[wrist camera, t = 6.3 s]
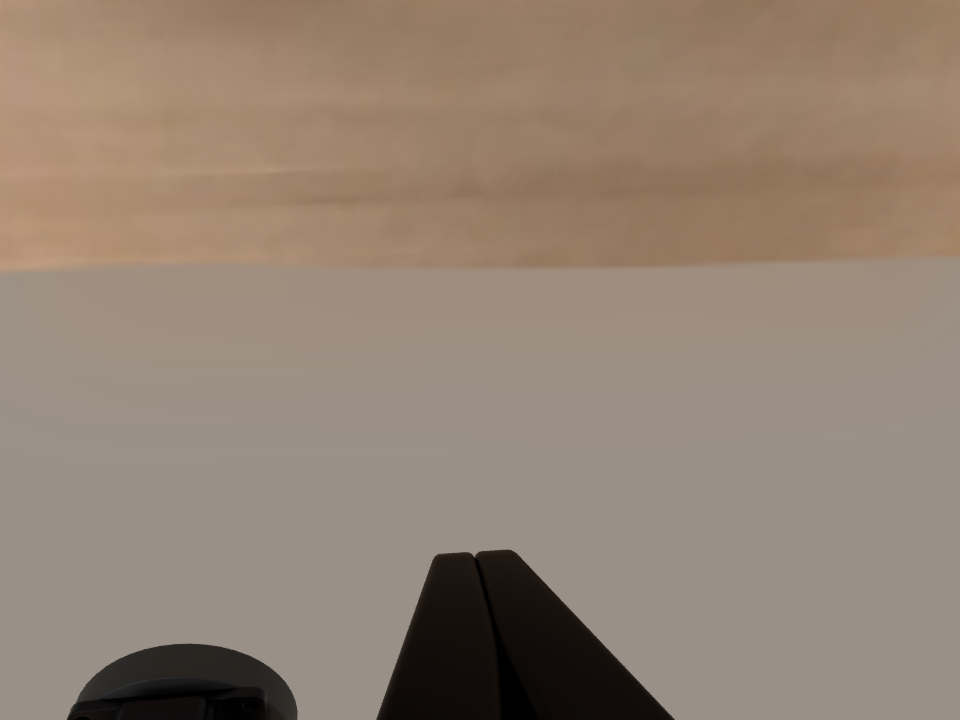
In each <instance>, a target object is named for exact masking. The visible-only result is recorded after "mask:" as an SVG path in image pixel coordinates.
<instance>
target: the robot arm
mask: <svg viewBox="0 0 960 720" xmlns="http://www.w3.org/2000/svg"><path fill="white" fill-rule="evenodd" d="M67 720H270V717H269V708H268V699H267V694H266V691H264V690H263V689H262V688H259V687H252V686H251V687H240V688H228V689H217V690H205V691H194V692H182V693H171V694H159V695H148V696H136V697H125V698H113V699H102V700H90V701H82V702H78V703H76V704H74V705H73V707H72V708H71V710H70V713H69V715H68V718H67ZM376 720H675V719H674V718H673V717H672V716H671V715H670V714H669V713H668V712H667V711H666V710H665V709H664V708H663V707H662V706H661V705H660V704H659V703H658V701H657V700H656V699H655V698H654V697H653V696H652V695H651V694H650V693H649V692H648V691H647V690H646V689H645V688H644V687H643V686H642V685H641V684H640V683H639V681H637V679H636V678H635V677H634V676H633V675H632V674H631V673H630V672H629V671H628V670H627V669H626V668H625V667H624V666H623V665H622V664H621V663H620V662H619V661H618V659H617V658H616V657H615V656H614V655H613V654H612V653H611V652H610V651H609V650H608V649H607V648H606V647H605V646H604V645H603V644H602V643H601V642H600V640H599V639H597V637H596V636H595V635H594V634H593V633H592V632H591V631H590V630H589V629H588V628H587V627H586V626H585V625H584V624H583V623H582V622H581V621H580V619H579V618H578V617H577V616H576V615H575V614H574V613H573V612H572V611H571V610H570V609H569V608H568V607H567V606H566V605H565V604H564V603H563V602H562V601H561V600H560V598H559V597H558V596H557V595H556V594H555V593H554V592H553V591H552V590H551V589H550V588H549V587H548V586H547V585H546V584H545V583H544V582H543V581H542V580H541V578H540V577H539V576H538V575H537V574H536V573H535V572H534V571H533V570H532V569H531V568H530V567H529V566H528V565H527V564H526V563H525V562H524V561H523V560H522V559H521V557H520V556H519V555H518V554H517V553H515V552H513V551H512V550H494V551H481V552H478V553H477V554H476V555H475V557H474V556H473V555H472V554H471V553H469V552H462V553H447V554H438V555H437V556H435V557H434V559H433V561H432V564H431V566H430V569H429V572H428V575H427V578H426V581H425V583H424V586H423V589H422V592H421V595H420V598H419V600H418V604H417V606H416V609H415V612H414V615H413V618H412V620H411V623H410V626H409V629H408V631H407V634H406V637H405V640H404V643H403V646H402V648H401V651H400V654H399V657H398V660H397V663H396V665H395V668H394V671H393V674H392V677H391V679H390V683H389V685H388V688H387V691H386V694H385V696H384V699H383V702H382V705H381V708H380V711H379V713H378V716H377V719H376Z"/></svg>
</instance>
